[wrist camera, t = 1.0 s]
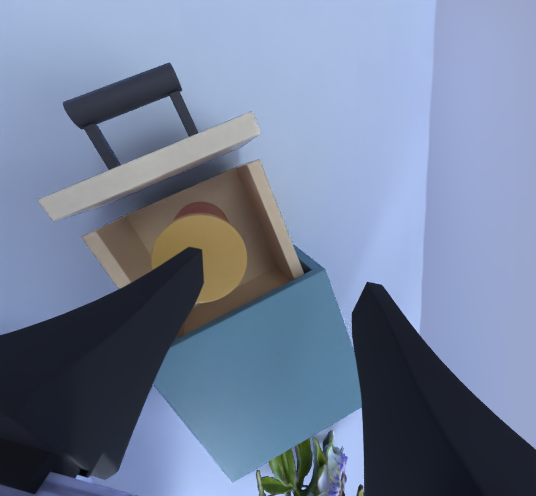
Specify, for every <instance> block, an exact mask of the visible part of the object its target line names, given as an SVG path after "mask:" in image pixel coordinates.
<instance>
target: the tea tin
mask: <svg viewBox="0 0 536 496" xmlns="http://www.w3.org/2000/svg"><path fill="white" fill-rule="evenodd" d="M188 247H194V248H199V249H202V254H203V272H204V284H203V287H202V289H201V292H200V294H199V296H198V299H197V301H196V303H207V302H212V301H215V300H218V299H220V298H222V297H224V296H226V295H227V294H229V293H230V292H231V291H232V290H233V289H235V288H236V286H237V285H238V284H239V283H240V281H241V280H242V278H243V276H244V273H245V270H246V266H247V251H246V246H245V244H244V241H243V239H242V238H241V236H240V234H239V233H238V231H237V230H236V229H235V228H234V227H233V226H232V225H231V224H230V222H229V220H228V219H227V217H226V215H225V214H224V212H223V211H222V210H221V209H220V208H218V207H217V206H215V205H213V204H211V203H207V202H194V203H191V204H188V205H186V206H185V207H183V208H182V209H181V210H180V211H179V212H178V214H177V215H176V216H175V218H174V219H173V221H172V222H171V223H169V224H168V225H167V226H166V227H165V228H164V229H163V230H162V232H161V233H160V234H159V236H158V237H157V239H156V241H155V243H154V245H153V248H152V253H151V266H152V270H154V269H155V268H157V267H158V266H160V265H161V264H163V263H165V262H166V261H168V260H169V259H171V258H172V257H174V256H175V255H177V254H178V253H180V252H181V251H183V250H184V249H186V248H188Z"/></svg>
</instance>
